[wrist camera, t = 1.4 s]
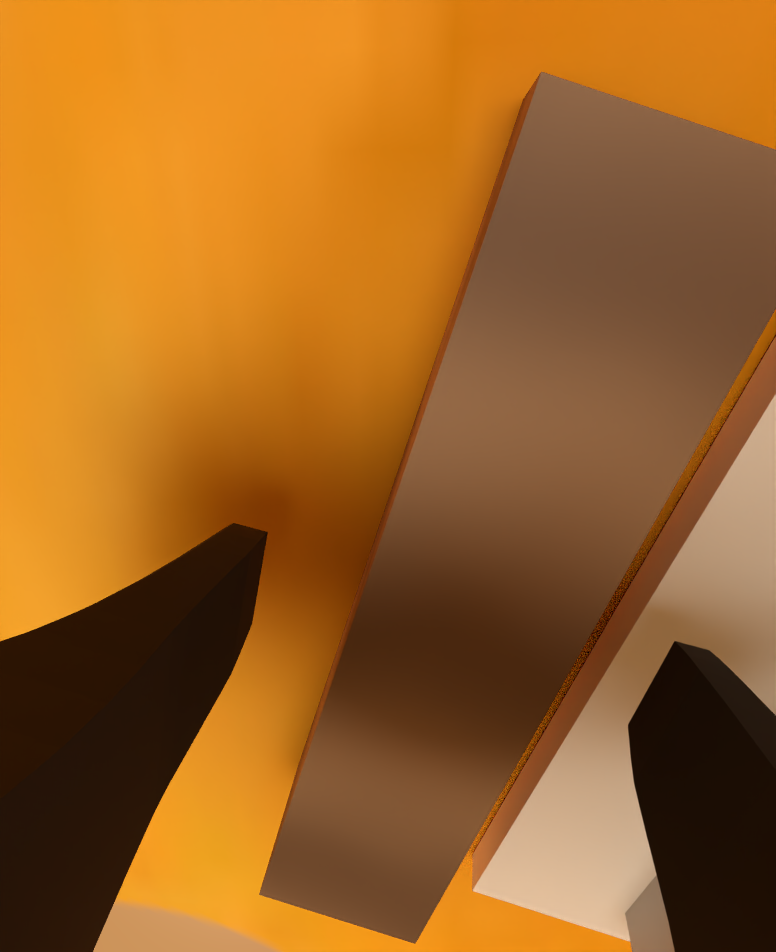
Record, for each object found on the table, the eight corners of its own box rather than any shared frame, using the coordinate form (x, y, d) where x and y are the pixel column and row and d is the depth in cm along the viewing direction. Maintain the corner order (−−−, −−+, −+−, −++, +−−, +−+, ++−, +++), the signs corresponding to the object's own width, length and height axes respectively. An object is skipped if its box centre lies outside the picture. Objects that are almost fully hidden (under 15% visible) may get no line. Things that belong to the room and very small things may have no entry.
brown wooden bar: (521, 101, 10) (541, 72, 7) (736, 172, 10) (851, 175, 7) (299, 759, 17) (259, 894, 14) (426, 800, 18) (415, 943, 14)
